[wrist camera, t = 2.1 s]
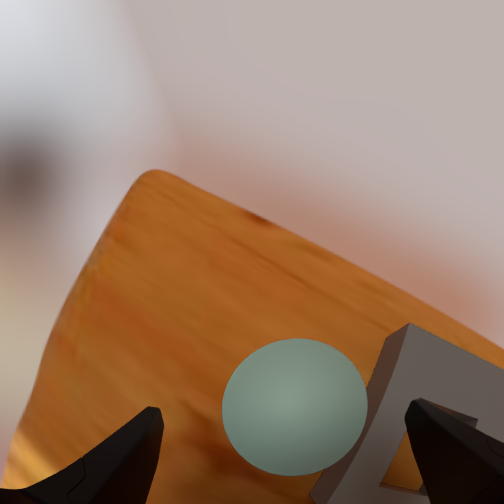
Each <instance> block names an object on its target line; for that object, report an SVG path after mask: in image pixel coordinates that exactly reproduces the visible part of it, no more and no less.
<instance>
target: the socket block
mask: <svg viewBox="0 0 504 504" xmlns="http://www.w3.org/2000/svg"><path fill="white" fill-rule="evenodd" d="M366 393H367V401H368V408H367V416H366V421H365V424H364V427H363V430H362V432H361V434H360V436H359V438H358V440H357V441H356V443H355V444H354V446H353V447H352V448H351V449H350V451H349V452H348V453H347V454H346V455H345V456H344V457H342V458H341V459H340V460H339V461H337V462H336V463H334V464H333V465H331V466H329V467H328V468H326V469H325V470H324V472H323V474H322V475H321V477H320V478H319V480H318V482H317V483H316V485H315V486H314V488H313V489H312V491H311V492H310V494H309V496H310V497H311V498H312V500H313V501H314V502H315V503H316V504H430V501H429V498H428V494H427V491H426V488H425V485H424V483H423V484H422V486H421V488H420V490H419V491H415V490H410V489H405V488H400V487H396V486H392V485H388V484H384V483H381V481H382V479H383V477H384V476H385V474H386V472H387V470H388V468H389V466H390V464H391V462H392V460H393V458H394V456H395V454H396V452H397V450H398V448H399V446H400V444H401V441H402V439H403V437H404V435H405V432H406V430H407V428H406V424H405V420H404V417H405V413H406V411H407V409H408V407H409V404H410V402H411V401H412V400H415V399H419V398H422V399H424V400H426V401H427V402H429V403H431V404H433V405H434V406H436V407H438V408H440V409H441V410H443V411H445V412H447V413H449V414H450V415H452V416H454V417H456V418H457V419H459V420H461V421H463V422H465V423H467V424H468V425H470V426H472V427H474V428H476V429H478V430H479V431H481V432H483V433H485V434H486V435H489V436H491V437H493V438H495V439H497V440H499V441H501V442H503V443H504V370H503V369H501V368H499V367H497V366H495V365H493V364H491V363H489V362H488V361H486V360H484V359H482V358H480V357H478V356H476V355H474V354H472V353H470V352H468V351H466V350H464V349H462V348H460V347H458V346H456V345H454V344H452V343H450V342H448V341H446V340H444V339H442V338H440V337H438V336H436V335H434V334H432V333H430V332H428V331H426V330H424V329H422V328H419V327H417V326H415V325H413V324H411V323H408V324H407V325H405V326H404V327H402V328H401V329H399V330H398V331H396V332H394V333H393V334H391V335H390V336H388V337H387V338H386V340H385V343H384V346H383V348H382V351H381V354H380V356H379V359H378V362H377V364H376V367H375V369H374V372H373V374H372V377H371V379H370V381H369V384H368V386H367V388H366Z"/></svg>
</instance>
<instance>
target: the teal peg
mask: <svg viewBox="0 0 504 504" xmlns="http://www.w3.org/2000/svg"><path fill="white" fill-rule="evenodd" d="M367 408H368V401H367V393H366V389H365V385H364V382H363V380H362V377H361V375H360V373H359V372H358V370H357V368H356V367H355V366H354V365H353V363H352V362H351V361H350V360H349V359H348V358H347V357H346V356H345V355H344V354H342V353H341V352H340V351H338V350H337V349H335V348H333V347H331V346H329V345H327V344H324V343H322V342H318V341H315V340H309V339H286V340H281V341H277V342H274V343H271V344H268V345H266V346H264V347H262V348H260V349H258V350H257V351H255V352H254V353H252V354H251V355H249V356H248V357H247V358H246V359H245V360H244V361H243V362H242V363H241V364H240V365H239V366H238V367H237V369H236V370H235V371H234V373H233V374H232V376H231V378H230V380H229V382H228V384H227V387H226V389H225V392H224V397H223V403H222V418H223V423H224V428H225V431H226V433H227V436H228V438H229V440H230V442H231V444H232V445H233V447H234V448H235V449H236V451H237V452H238V453H239V454H240V455H241V456H242V457H243V458H244V459H245V460H246V461H248V462H249V463H250V464H252V465H253V466H255V467H257V468H259V469H261V470H263V471H266V472H269V473H272V474H277V475H283V476H301V475H308V474H312V473H315V472H318V471H321V470H323V469H325V468H328V467H329V466H331V465H333V464H334V463H336V462H337V461H339V460H340V459H341V458H342V457H344V456H345V455H346V454H347V453H348V452H349V451H350V449H351V448H352V447H353V446H354V444H355V443H356V441H357V440H358V438H359V436H360V434H361V432H362V430H363V427H364V424H365V421H366V416H367Z"/></svg>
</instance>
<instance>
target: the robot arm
mask: <svg viewBox="0 0 504 504" xmlns="http://www.w3.org/2000/svg"><path fill="white" fill-rule="evenodd" d="M404 420H405V424H406V428H407V432H408V436H409V440H410V444H411V448H412V451H413V454H414V457H415V460H416V463H417V465H418V468H419V471H420V474H421V477H422V480H423V483H424V485H425V488H426V491H427V494H428V498H429V501H430V504H504V443H503V442H501V441H499V440H497V439H495V438H493V437H491V436H489V435H486V434H485V433H483V432H481V431H479V430H478V429H476V428H474V427H472V426H470V425H468V424H467V423H465V422H463V421H461V420H459V419H457V418H456V417H454V416H452V415H450V414H449V413H447V412H445V411H443V410H441V409H440V408H438V407H436V406H434V405H433V404H431V403H429V402H427V401H426V400H424V399H422V398H419V399H415V400H412V401H411V402H410V404H409V407H408V409H407V411H406V413H405V417H404ZM163 430H164V422H163V418H162V414H161V411H160V409H159V408H157V407H150V406H149V407H147V408H145V409H144V410H143V411H141V412H140V413H139V414H138V415H136V416H135V417H134V418H133V419H131V420H130V421H129V422H127V423H126V424H125V425H124V426H122V427H121V428H120V429H118V430H117V431H116V432H115V433H113V434H112V435H111V436H109V437H108V438H107V439H105V440H104V441H103V442H101V443H100V444H99V445H97V446H96V447H95V448H93V449H92V450H90V451H89V452H88V453H86V454H85V455H84V456H83V458H82V457H81V458H79V459H78V460H77V461H75V462H74V463H72V464H71V465H69V466H68V467H66V468H65V469H63V470H61V471H59V472H57V473H56V474H54V475H52V476H50V477H48V478H46V479H44V480H42V481H40V482H38V483H36V484H34V485H31V486H29V487H27V488H23V489H3V488H0V504H145V503H146V500H147V497H148V494H149V490H150V487H151V484H152V481H153V477H154V474H155V471H156V468H157V464H158V459H159V453H160V447H161V441H162V436H163Z"/></svg>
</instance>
